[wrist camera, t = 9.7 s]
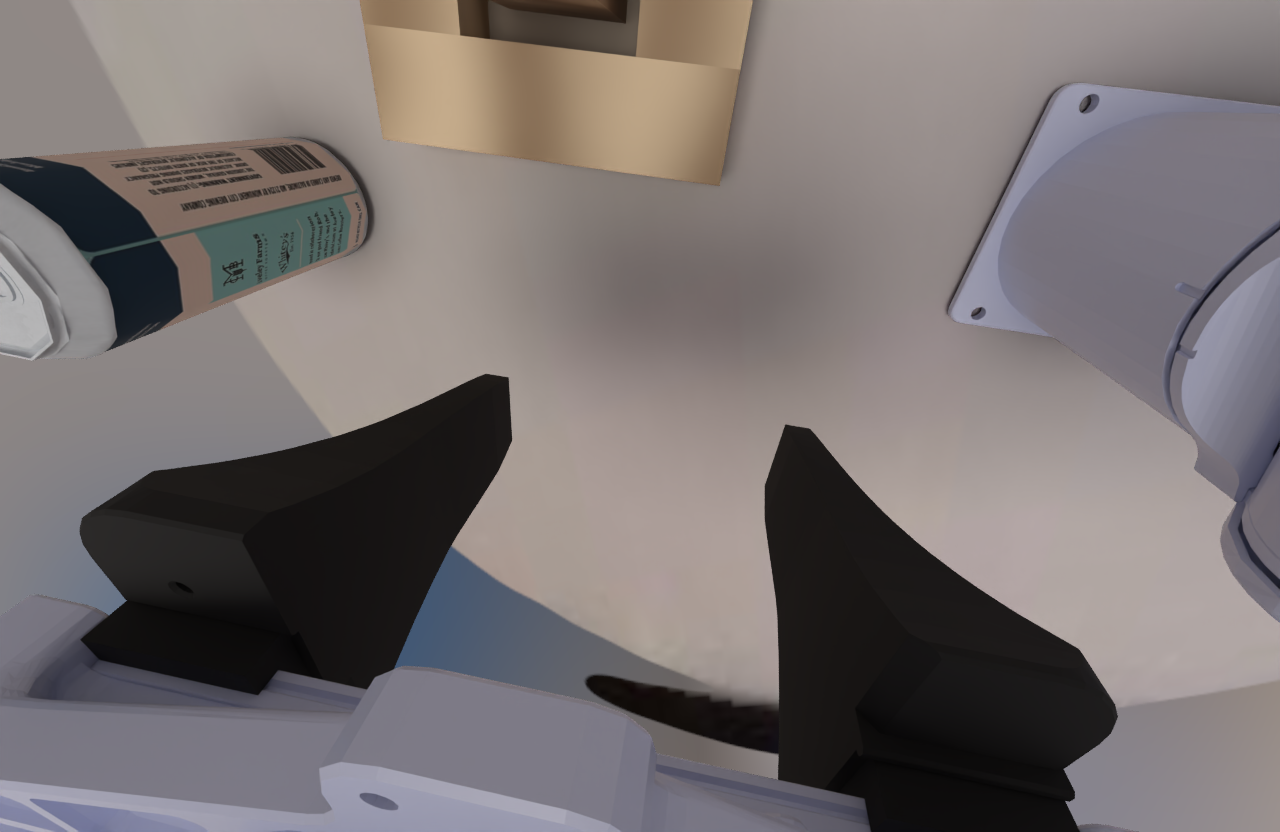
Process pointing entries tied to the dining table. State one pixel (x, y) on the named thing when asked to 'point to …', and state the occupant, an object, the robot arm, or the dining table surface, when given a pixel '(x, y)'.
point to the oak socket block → (562, 82)
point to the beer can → (160, 236)
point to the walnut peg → (573, 8)
